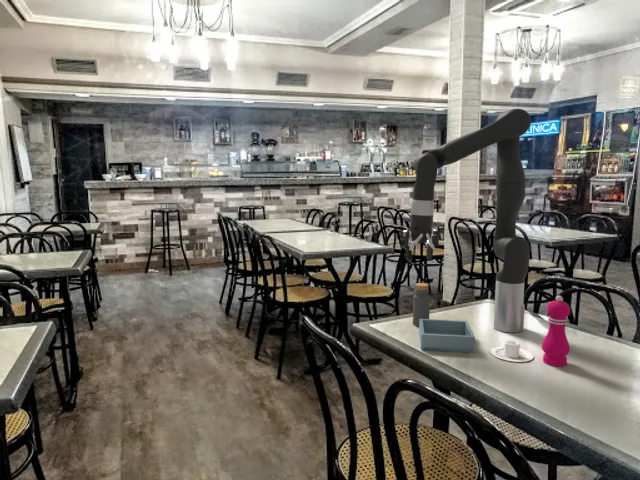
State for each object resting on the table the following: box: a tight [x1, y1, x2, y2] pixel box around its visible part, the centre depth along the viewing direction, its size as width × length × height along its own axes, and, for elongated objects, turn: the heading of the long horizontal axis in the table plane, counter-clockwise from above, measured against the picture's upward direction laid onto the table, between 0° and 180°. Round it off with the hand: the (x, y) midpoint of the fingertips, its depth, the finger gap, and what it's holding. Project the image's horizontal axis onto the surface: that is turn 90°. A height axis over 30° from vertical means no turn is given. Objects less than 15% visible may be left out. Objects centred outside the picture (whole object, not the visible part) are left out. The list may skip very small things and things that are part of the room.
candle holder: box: [490, 340, 534, 363], centre depth 144 cm, size 12×12×4 cm
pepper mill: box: [541, 295, 571, 367], centre depth 137 cm, size 7×7×20 cm
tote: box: [418, 318, 476, 354], centre depth 155 cm, size 16×16×5 cm
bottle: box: [412, 282, 431, 328], centre depth 172 cm, size 6×6×15 cm
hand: (419, 260), depth 165 cm, fingers open, 8 cm apart
